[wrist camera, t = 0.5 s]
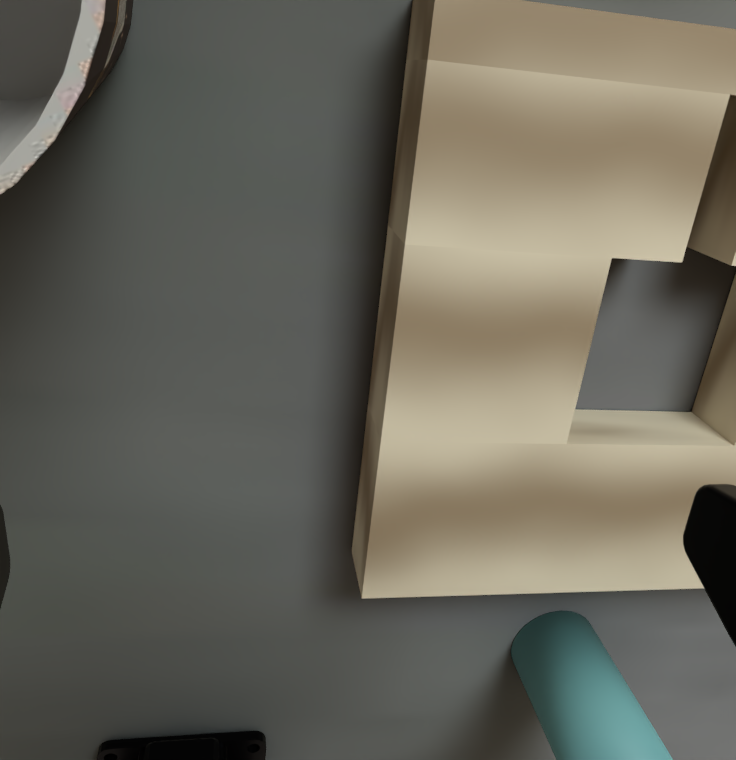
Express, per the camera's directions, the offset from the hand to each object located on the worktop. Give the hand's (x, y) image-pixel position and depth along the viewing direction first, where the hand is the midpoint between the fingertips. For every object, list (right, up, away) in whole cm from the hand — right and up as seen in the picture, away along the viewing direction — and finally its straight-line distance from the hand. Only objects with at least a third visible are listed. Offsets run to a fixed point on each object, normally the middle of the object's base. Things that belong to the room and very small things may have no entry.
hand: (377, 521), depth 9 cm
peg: (+8, -9, +20) cm, 24 cm away
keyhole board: (+9, +3, +15) cm, 18 cm away
